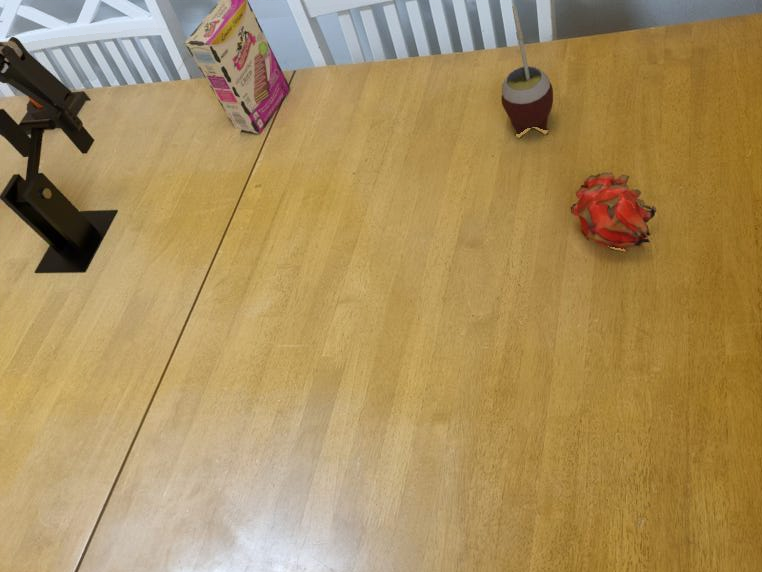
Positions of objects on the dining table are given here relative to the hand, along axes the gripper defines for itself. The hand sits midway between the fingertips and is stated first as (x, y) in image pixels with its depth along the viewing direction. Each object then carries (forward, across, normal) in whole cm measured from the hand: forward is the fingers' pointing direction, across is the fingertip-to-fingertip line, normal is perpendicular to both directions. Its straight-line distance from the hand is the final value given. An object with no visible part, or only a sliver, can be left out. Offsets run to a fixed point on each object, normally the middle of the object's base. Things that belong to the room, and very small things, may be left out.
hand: (58, 148), depth 107 cm
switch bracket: (+11, 0, -9) cm, 14 cm away
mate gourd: (+11, +67, +12) cm, 69 cm away
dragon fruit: (+11, +80, -9) cm, 81 cm away
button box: (+11, -20, +21) cm, 31 cm away
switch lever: (-1, 0, -4) cm, 4 cm away
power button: (+7, -20, +21) cm, 30 cm away
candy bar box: (+11, +22, +19) cm, 31 cm away
